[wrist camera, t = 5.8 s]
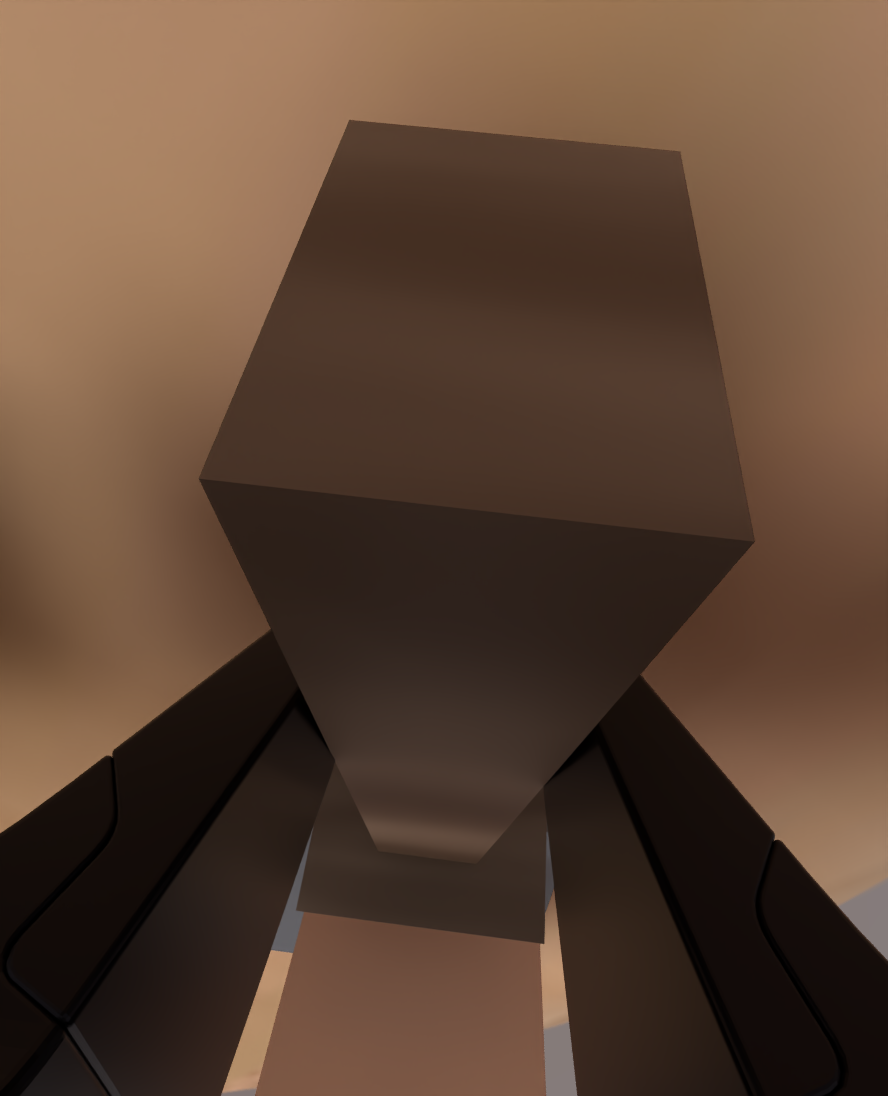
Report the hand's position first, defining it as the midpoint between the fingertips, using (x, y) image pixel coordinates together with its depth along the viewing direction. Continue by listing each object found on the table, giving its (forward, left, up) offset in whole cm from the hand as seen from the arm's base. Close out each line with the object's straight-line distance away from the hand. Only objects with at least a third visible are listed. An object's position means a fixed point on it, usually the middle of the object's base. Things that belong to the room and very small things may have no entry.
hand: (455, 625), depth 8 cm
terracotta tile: (0, -15, -6) cm, 16 cm away
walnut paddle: (0, -2, -3) cm, 3 cm away
